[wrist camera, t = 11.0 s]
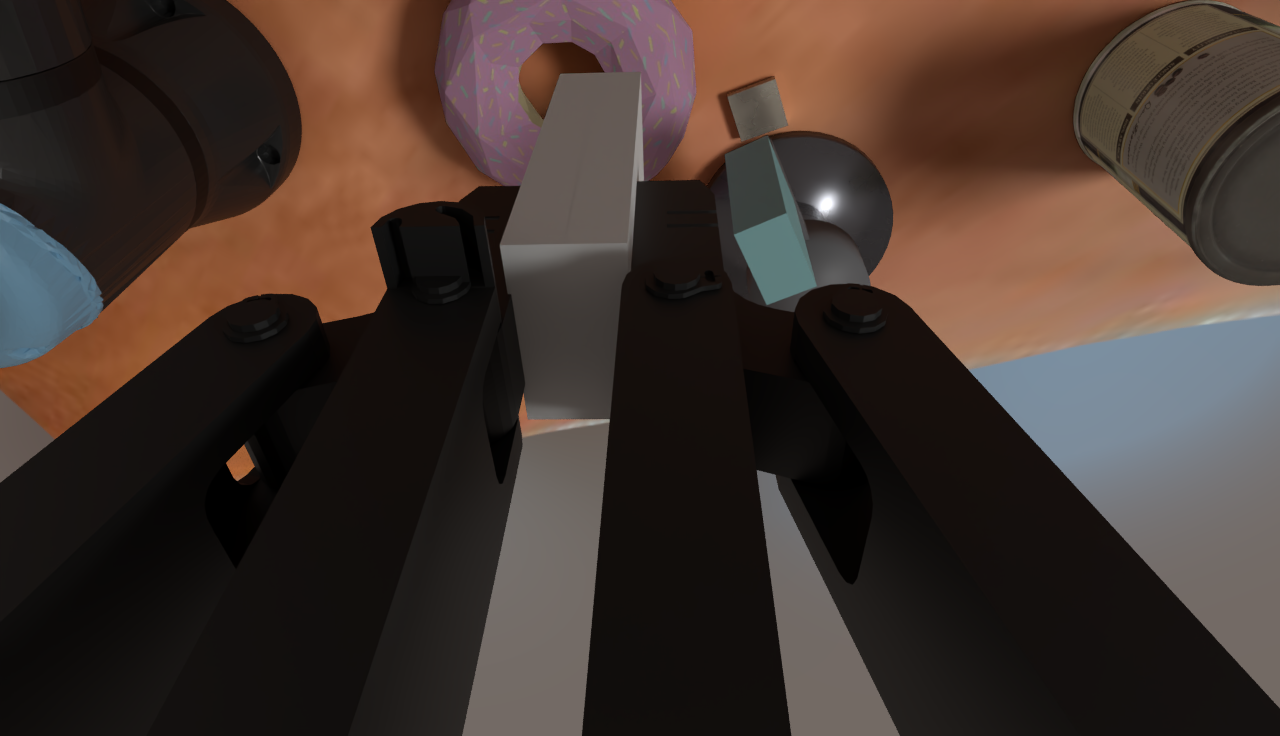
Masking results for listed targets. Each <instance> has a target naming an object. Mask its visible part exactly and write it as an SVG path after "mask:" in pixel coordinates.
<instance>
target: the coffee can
mask: <svg viewBox="0 0 1280 736" xmlns="http://www.w3.org/2000/svg"><path fill="white" fill-rule="evenodd" d="M1073 125H1074V131H1075V135H1076V138H1077V141H1078V143H1079V145H1080V147H1081V149H1082V150H1083V151H1084V153H1085V154H1086V155H1087V156H1088V157H1089V158H1090V159H1091V160H1093V161H1094V162H1096V163H1097V164H1099V165H1100V166H1102V167H1103V168H1104V169H1105V170H1106V171H1107V172H1108V173H1109V174H1111V175H1112V176H1113V177H1114V178H1115V179H1116V180H1117V181H1118V182H1119V183H1120V184H1121V185H1123V186H1124V187H1125V188H1126V189H1127V190H1128V191H1129V192H1131V193H1132V194H1133V195H1134V196H1135V197H1136V198H1137V199H1138V200H1139V201H1141V202H1142V203H1143V204H1144V205H1145V206H1146V207H1147V208H1148V209H1149V210H1150V211H1151V212H1152V213H1153V214H1154V215H1155V216H1157V217H1158V218H1159V219H1160V220H1161V221H1162V222H1164V224H1165V225H1166V226H1168V227H1169V228H1170V229H1171V230H1172V231H1174V232H1175V233H1176V234H1177V235H1178V236H1179V237H1180V238H1181V239H1182V240H1183V241H1185V242H1186V243H1187V244H1188V245H1189V246H1190V247H1191V248H1192V250H1193V251H1194V253H1195V254H1196V256H1197V257H1198V258H1199V259H1200V260H1201V261H1202V262H1203V263H1204V264H1205V265H1206V266H1207V267H1208V268H1209V269H1210V270H1212V271H1213V272H1214V273H1216V274H1217V275H1219V276H1221V277H1223V278H1225V279H1228V280H1230V281H1233V282H1236V283H1240V284H1246V285H1255V286H1271V285H1280V27H1279V26H1277V25H1274V24H1272V23H1270V22H1267V21H1265V20H1262V19H1260V18H1257V17H1255V16H1252V15H1249V14H1247V13H1245V12H1242V11H1241V10H1239V9H1237V8H1235V7H1233V6H1231V5H1229V4H1226V3H1222V2H1217V1H1211V0H1190V1H1185V2H1180V3H1176V4H1172V5H1169V6H1166V7H1163V8H1161V9H1158V10H1156V11H1154V12H1152V13H1150V14H1148V15H1146V16H1144V17H1142V18H1141V19H1139V20H1137V21H1136V22H1134V23H1133V24H1131V25H1130V26H1128V27H1127V28H1125V29H1124V30H1122V31H1121V32H1120V33H1119V34H1118V35H1117V36H1116V37H1115V38H1114V39H1113V40H1112V41H1111V42H1110V43H1109V44H1108V45H1107V46H1106V47H1105V48H1104V49H1103V50H1102V51H1101V52H1100V53H1099V55H1098V56H1097V57H1096V59H1095V60H1094V62H1093V63H1092V64H1091V66H1090V68H1089V69H1088V71H1087V73H1086V75H1085V76H1084V78H1083V80H1082V83H1081V85H1080V88H1079V91H1078V93H1077V96H1076V99H1075V108H1074V115H1073Z"/></svg>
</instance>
